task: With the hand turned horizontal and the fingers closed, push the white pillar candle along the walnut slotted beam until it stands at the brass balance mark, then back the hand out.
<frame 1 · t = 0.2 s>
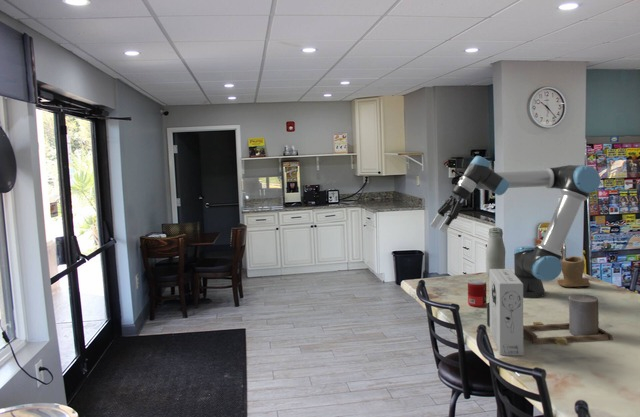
hand: (436, 228, 219), 36 cm above the table, tool tilted 35°, fingers open, 13 cm apart
supplement bottle: (496, 326, 197), on the table
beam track: (562, 334, 185), on the table
pillar candle: (583, 333, 185), resting in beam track
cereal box: (505, 344, 179), on the table
stone cup: (575, 286, 248), on the table
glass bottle: (495, 279, 269), on the table
canned food: (477, 305, 225), on the table
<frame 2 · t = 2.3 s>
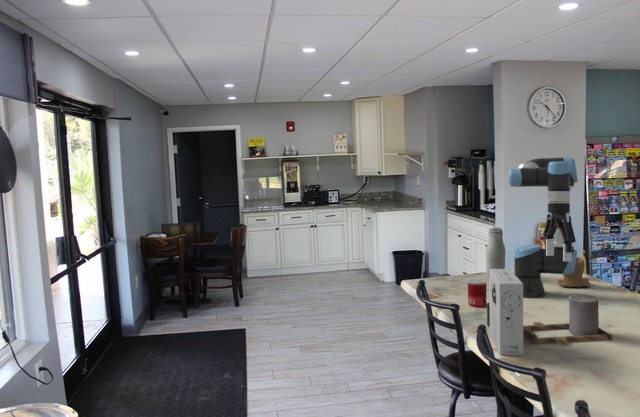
hand: (558, 258, 189), 27 cm above the table, tool pointing down, fingers open, 13 cm apart
nothing on the table moved.
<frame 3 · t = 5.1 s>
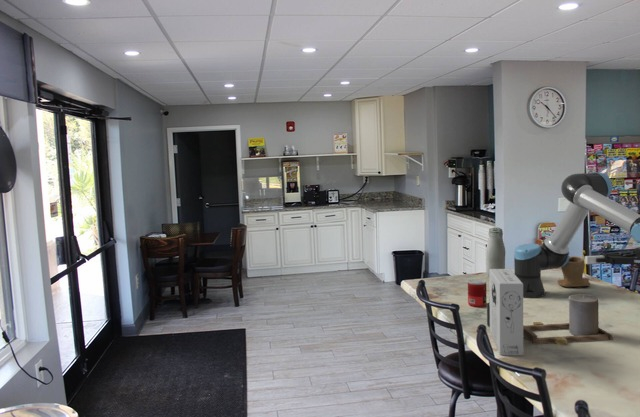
hand: (586, 260, 184), 27 cm above the table, tool horizontal, fingers closed
nothing on the table moved.
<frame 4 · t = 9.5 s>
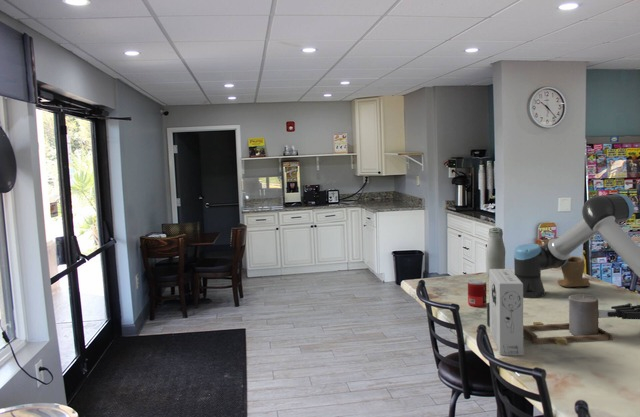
hand: (597, 313, 184), 7 cm above the table, tool horizontal, fingers closed
pillar candle: (583, 333, 185), resting in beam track, touching gripper
everything else where it was.
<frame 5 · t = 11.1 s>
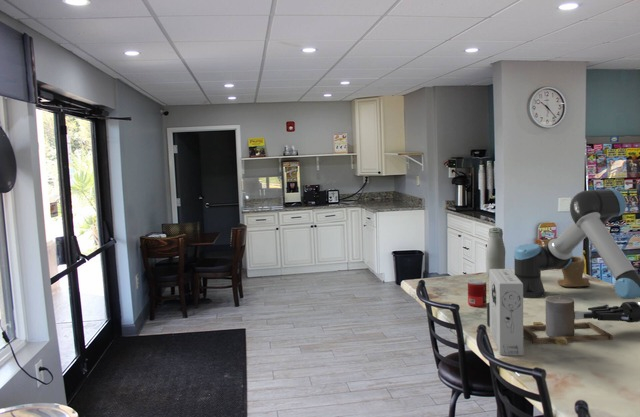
hand: (573, 315, 184), 7 cm above the table, tool horizontal, fingers closed
pillar candle: (559, 335, 185), resting in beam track, touching gripper
everything else where it was.
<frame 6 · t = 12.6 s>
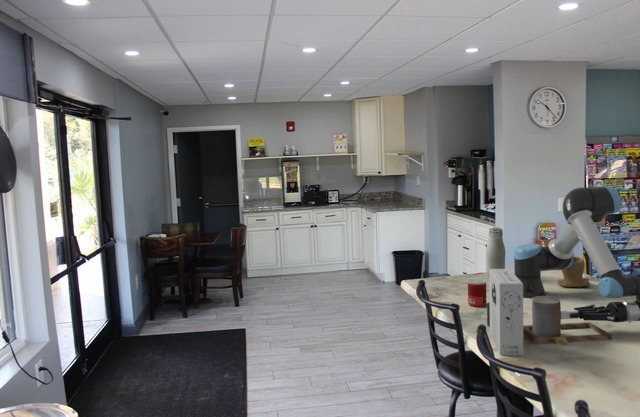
hand: (559, 315, 184), 8 cm above the table, tool horizontal, fingers closed
pillar candle: (546, 335, 185), resting in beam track, touching gripper
everything else where it was.
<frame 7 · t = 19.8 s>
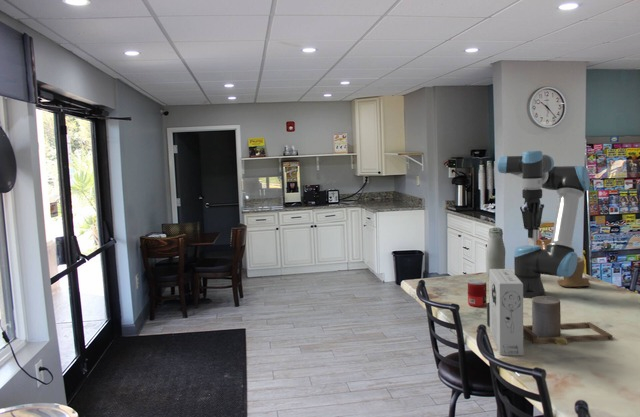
hand: (532, 245, 206), 29 cm above the table, tool pointing down, fingers closed
pillar candle: (545, 335, 185), resting in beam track
everything else where it was.
at the end: pillar candle inside the target area (1.3 cm from its centre), resting in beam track; pillar candle tilted 0°; pillar candle moved 14.1 cm from its start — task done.
